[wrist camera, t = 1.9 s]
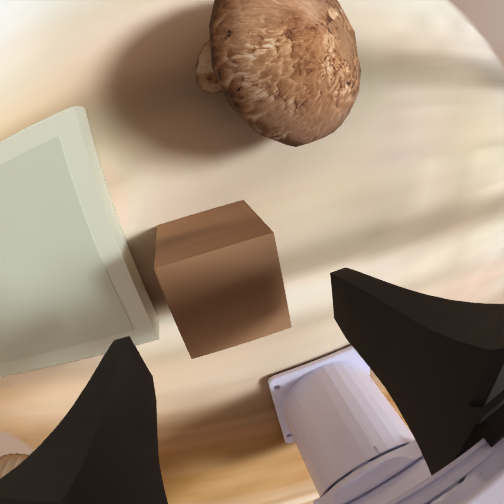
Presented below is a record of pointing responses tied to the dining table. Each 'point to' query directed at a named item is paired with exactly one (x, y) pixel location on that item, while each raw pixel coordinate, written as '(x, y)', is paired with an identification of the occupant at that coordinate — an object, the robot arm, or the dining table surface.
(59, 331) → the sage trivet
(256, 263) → the walnut block
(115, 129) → the dining table surface
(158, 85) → the dining table surface
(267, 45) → the mushroom
